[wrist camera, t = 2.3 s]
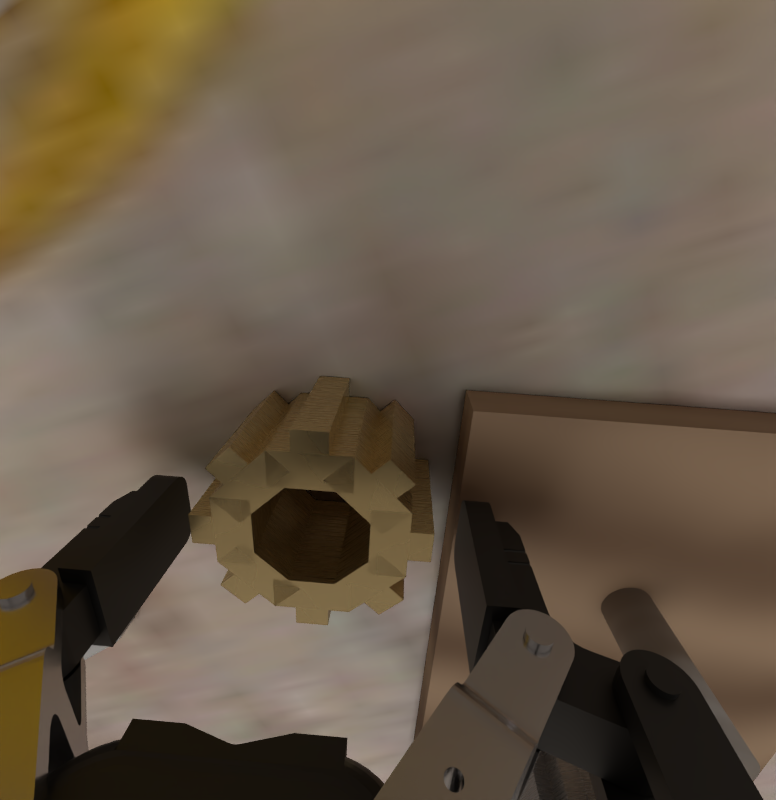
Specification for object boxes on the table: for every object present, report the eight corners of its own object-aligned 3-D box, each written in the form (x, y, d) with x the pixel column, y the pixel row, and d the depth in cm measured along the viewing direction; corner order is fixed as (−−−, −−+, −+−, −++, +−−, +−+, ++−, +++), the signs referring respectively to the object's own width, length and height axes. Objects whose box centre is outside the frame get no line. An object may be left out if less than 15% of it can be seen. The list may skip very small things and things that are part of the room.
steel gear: (480, 691, 16) (499, 812, 12) (651, 663, 15) (721, 787, 11) (514, 779, 18) (538, 901, 15) (665, 760, 17) (726, 887, 14)
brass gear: (233, 369, 12) (172, 420, 9) (437, 385, 12) (447, 441, 9) (248, 530, 15) (204, 614, 12) (417, 544, 15) (420, 632, 12)
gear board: (466, 390, 12) (513, 523, 7) (938, 425, 12) (1377, 592, 7) (410, 763, 20) (411, 963, 15) (694, 788, 20) (803, 1001, 15)
